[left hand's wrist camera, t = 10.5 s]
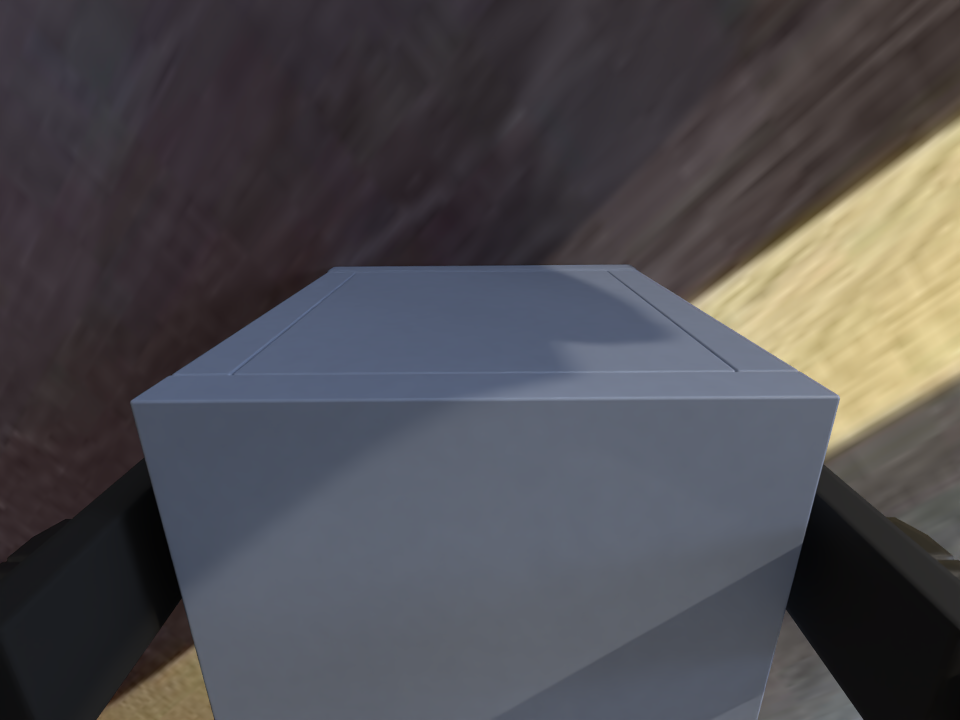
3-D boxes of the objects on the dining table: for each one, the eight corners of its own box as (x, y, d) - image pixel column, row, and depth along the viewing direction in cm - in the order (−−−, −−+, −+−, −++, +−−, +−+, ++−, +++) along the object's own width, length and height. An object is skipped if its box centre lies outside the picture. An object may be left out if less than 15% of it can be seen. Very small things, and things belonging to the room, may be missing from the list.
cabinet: (600, 581, 24) (703, 933, 13) (367, 583, 24) (270, 935, 13) (629, 264, 19) (843, 395, 8) (333, 266, 19) (127, 400, 8)
